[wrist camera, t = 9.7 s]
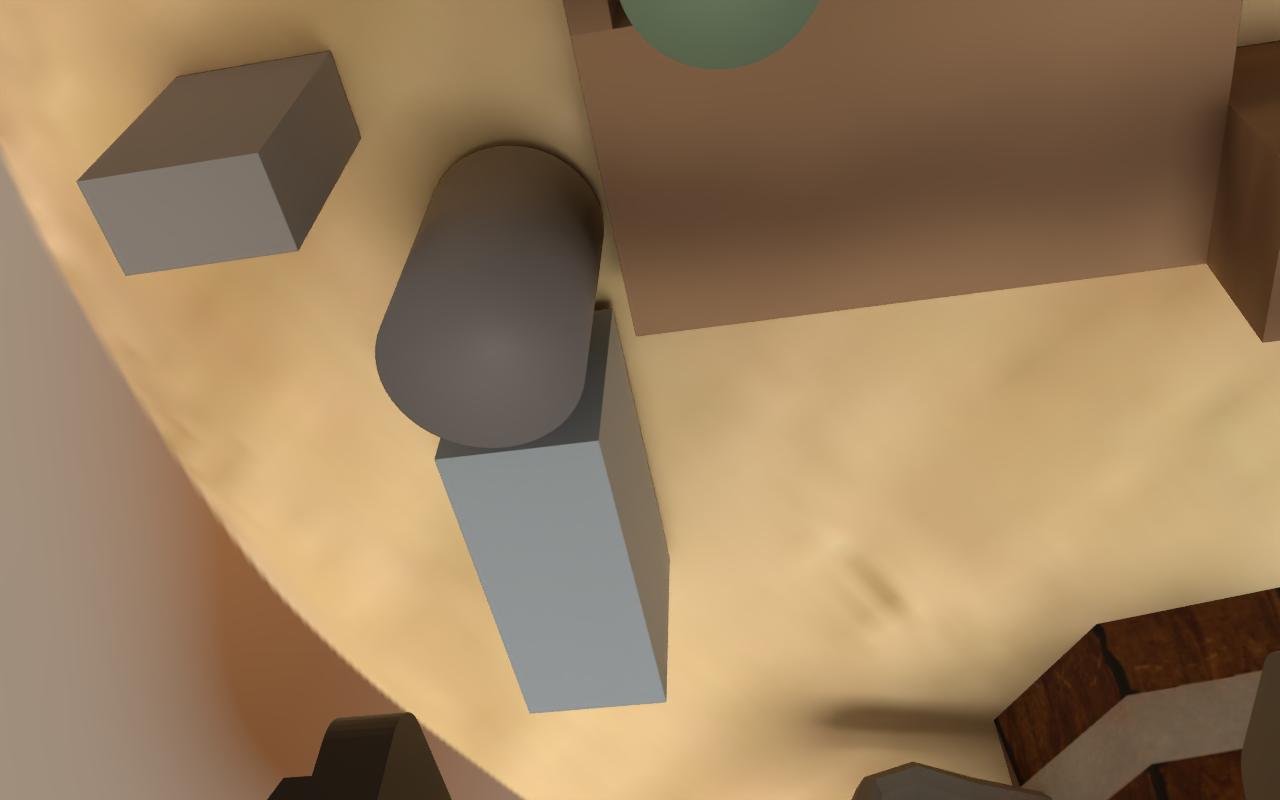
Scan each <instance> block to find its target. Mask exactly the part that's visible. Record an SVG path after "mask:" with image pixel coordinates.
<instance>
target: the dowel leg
mask: <svg viewBox="0 0 1280 800" xmlns="http://www.w3.org/2000/svg"><path fill="white" fill-rule="evenodd" d="M620 2H621V4H622V7H623V9H624V12H625V13H626V15H627V17H628V19H629V20H630V22H631V24H632V25H633V26H634V28H635V29H636V30H637V32H638V33H639V34H640V35H641V36H642V37H643V38H644V39H645V40H646V41H647V42H648V43H649V44H650V45H651V46H653V47H654V48H655V49H656V50H658V51H659V52H661V53H662V54H664V55H666V56H667V57H669V58H671V59H673V60H675V61H678V62H680V63H682V64H686V65H689V66H693V67H697V68H703V69H719V70H722V69H732V68H738V67H742V66H746V65H750V64H753V63H755V62H758V61H761V60H763V59H765V58H766V57H768V56H770V55H772V54H774V53H775V52H777V51H778V50H780V49H781V48H783V47H784V46H785V45H786V44H788V43H789V42H790V41H791V40H792V39H793V38H794V37H795V36H796V35H797V34H798V33H799V32H800V31H801V30H802V28H803V27H804V26H805V25H806V23H807V22H808V20H809V19H810V17H811V16H812V14H813V12H814V11H815V9H816V7H817V5H818V3H819V0H620Z"/></svg>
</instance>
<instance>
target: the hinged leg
mask: <svg viewBox="0 0 1280 800" xmlns="http://www.w3.org/2000/svg"><path fill="white" fill-rule="evenodd" d="M603 237H604V223H603V217H602V212H601V209H600V206H599V203H598V201H597V199H596V196H595V194H594V193H593V191H592V190H591V188H590V186H589V185H588V184H587V183H586V181H585V180H584V179H583V178H582V176H580V175H579V174H578V173H577V172H576V171H575V170H574V169H573V168H572V167H570V166H569V165H568V164H566V163H565V162H563V161H562V160H560V159H558V158H556V157H554V156H553V155H550V154H548V153H545V152H543V151H540V150H536V149H533V148H528V147H522V146H496V147H490V148H486V149H482V150H479V151H477V152H474V153H471V154H470V155H468V156H466V157H464V158H462V159H461V160H459V161H458V162H457V163H455V164H454V165H453V166H452V167H451V168H450V169H449V170H448V171H447V172H446V173H445V174H444V175H443V177H442V178H441V179H440V181H439V183H438V185H437V186H436V188H435V190H434V193H433V195H432V198H431V200H430V203H429V205H428V208H427V211H426V213H425V216H424V218H423V221H422V223H421V226H420V228H419V231H418V233H417V236H416V238H415V241H414V243H413V246H412V248H411V251H410V253H409V256H408V258H407V261H406V263H405V266H404V268H403V271H402V273H401V276H400V278H399V281H398V283H397V286H396V288H395V291H394V293H393V296H392V299H391V301H390V304H389V306H388V309H387V311H386V314H385V316H384V319H383V321H382V324H381V326H380V329H379V332H378V335H377V340H376V346H375V359H376V366H377V370H378V374H379V377H380V380H381V382H382V384H383V386H384V388H385V390H386V392H387V394H388V395H389V397H390V398H391V400H392V401H393V402H394V403H395V405H396V406H397V407H398V408H399V409H400V410H401V411H402V412H403V413H404V414H405V415H406V416H407V417H408V418H409V419H410V420H412V421H413V422H414V423H416V424H417V425H418V426H420V427H422V428H423V429H425V430H427V431H428V432H430V433H432V434H434V435H436V436H438V437H441V438H440V442H439V445H438V449H437V453H436V456H435V462H436V465H437V468H438V470H439V473H440V476H441V478H442V481H443V484H444V486H445V489H446V492H447V494H448V497H449V500H450V502H451V505H452V508H453V510H454V513H455V516H456V518H457V521H458V524H459V526H460V529H461V532H462V534H463V537H464V540H465V542H466V545H467V548H468V550H469V553H470V556H471V558H472V561H473V563H474V566H475V569H476V571H477V574H478V577H479V579H480V582H481V585H482V587H483V590H484V593H485V595H486V598H487V601H488V603H489V606H490V609H491V611H492V614H493V617H494V619H495V622H496V625H497V627H498V630H499V633H500V635H501V638H502V641H503V643H504V646H505V649H506V651H507V654H508V657H509V659H510V662H511V665H512V667H513V670H514V673H515V675H516V678H517V681H518V683H519V686H520V689H521V691H522V694H523V697H524V699H525V702H526V705H527V707H528V710H529V712H530V713H542V712H554V711H566V710H578V709H590V708H603V707H615V706H627V705H639V704H651V703H663V702H666V694H667V651H668V608H669V564H670V558H669V553H668V549H667V545H666V540H665V536H664V531H663V527H662V523H661V518H660V514H659V510H658V505H657V501H656V496H655V492H654V488H653V483H652V479H651V475H650V470H649V466H648V461H647V457H646V453H645V448H644V444H643V440H642V435H641V431H640V426H639V422H638V418H637V413H636V409H635V405H634V400H633V396H632V391H631V387H630V383H629V378H628V374H627V370H626V365H625V361H624V357H623V352H622V348H621V343H620V339H619V335H618V330H617V326H616V322H615V317H614V313H613V308H612V309H604V310H597V311H594V307H595V299H596V292H597V284H598V276H599V268H600V260H601V253H602V245H603Z"/></svg>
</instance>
